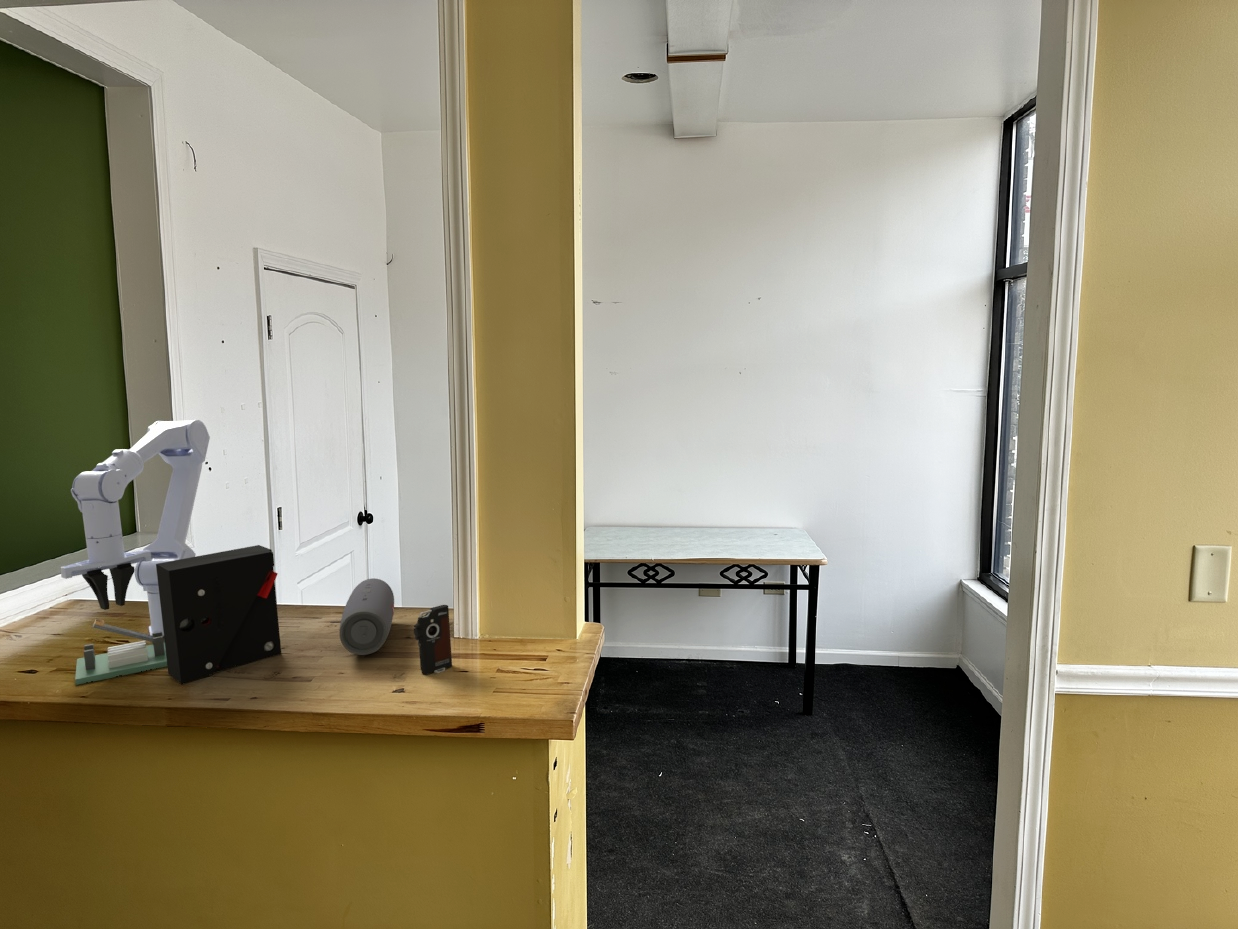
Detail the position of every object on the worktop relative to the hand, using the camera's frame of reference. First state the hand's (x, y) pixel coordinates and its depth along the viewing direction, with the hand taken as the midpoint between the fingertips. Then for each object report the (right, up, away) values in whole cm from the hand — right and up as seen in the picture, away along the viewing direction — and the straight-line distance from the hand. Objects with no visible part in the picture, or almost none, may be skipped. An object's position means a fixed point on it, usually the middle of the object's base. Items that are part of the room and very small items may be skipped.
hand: (112, 606), depth 151 cm
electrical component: (+23, -10, -3) cm, 25 cm away
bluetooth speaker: (+46, -8, +6) cm, 47 cm away
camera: (+63, -9, -10) cm, 64 cm away
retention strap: (+4, -5, -3) cm, 7 cm away
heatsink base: (+4, -10, -2) cm, 11 cm away
